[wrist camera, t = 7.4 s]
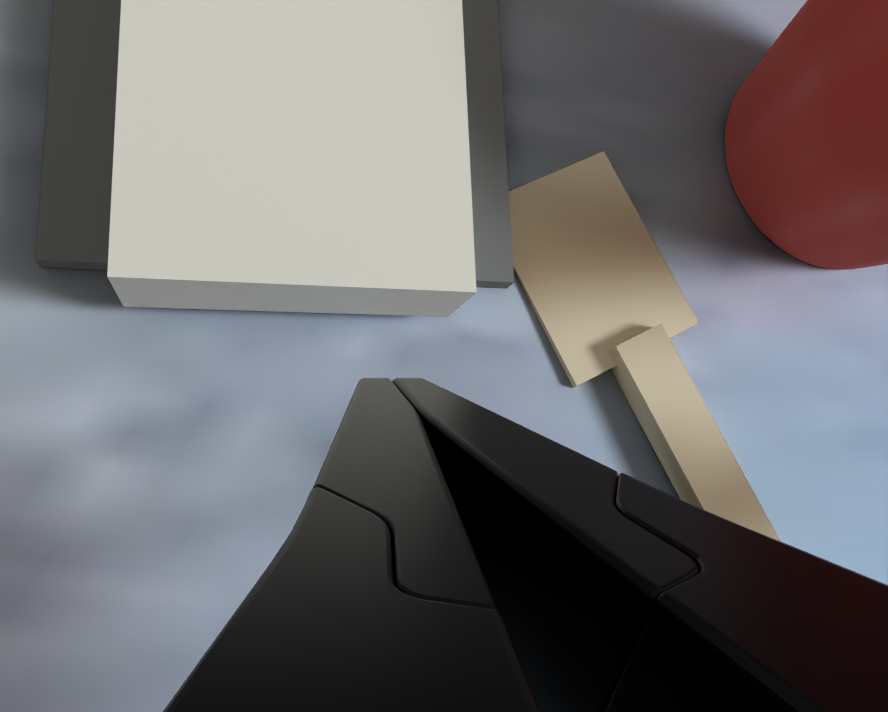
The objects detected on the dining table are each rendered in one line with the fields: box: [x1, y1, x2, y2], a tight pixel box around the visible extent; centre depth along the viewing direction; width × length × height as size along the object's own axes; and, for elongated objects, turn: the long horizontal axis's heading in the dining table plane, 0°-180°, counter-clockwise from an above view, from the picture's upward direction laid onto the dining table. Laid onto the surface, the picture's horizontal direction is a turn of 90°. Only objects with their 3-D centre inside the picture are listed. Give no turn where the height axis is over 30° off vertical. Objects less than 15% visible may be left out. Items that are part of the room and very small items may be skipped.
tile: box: [107, 0, 476, 317], centre depth 18 cm, size 3×8×11 cm
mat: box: [36, 0, 514, 288], centre depth 20 cm, size 12×12×1 cm
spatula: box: [509, 151, 781, 542], centre depth 21 cm, size 18×4×1 cm, turn 27°
